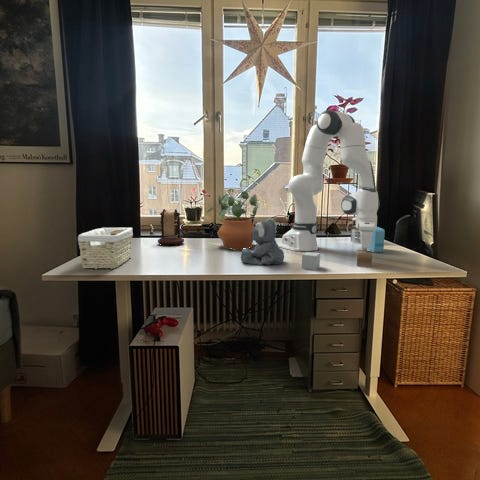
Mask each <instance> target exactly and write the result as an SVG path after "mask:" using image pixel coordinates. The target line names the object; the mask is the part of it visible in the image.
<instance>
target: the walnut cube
mask: <svg viewBox="0 0 480 480" xmlns="http://www.w3.org/2000/svg"><path fill="white" fill-rule="evenodd" d="M372 265H373V252H372V251H371V250H368V249H367V250H362V249H357V251H356V267H362V268H363V267H364V268H365V267H366V268H372Z"/></svg>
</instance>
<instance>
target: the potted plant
mask: <svg viewBox="0 0 480 480" xmlns="http://www.w3.org/2000/svg"><path fill="white" fill-rule="evenodd" d="M240 196H241V198H238V197H237V198H234V197H233V196H232V195H229V193H225V194H224V195H223V196H222V197H221V195H220V194H218V197H217V198H218V199H217V200H218V204H219V206H220V212H219V211H218V210H216V209H215V208H216V205H215V206H213V207H211V208H210V209H208V210H207V211H206V213H209V212H211V211H213V210H215V211H216V212H217V213H219V214H218V217H219V219H223V222H222V225H221V226H220V228H219V229H218V230H217V236H218V238H219V239H220V240H221V242H222V245H223V246H224V247H226V248H225V249H227V248H232V249H231V250H243V248H248V249H250V248H249V247H251V246H252V247H253V242H254V240H253V237H252V236H251V233H252V232H253V231H254V229H255V227H256V226H254V224H253V220H252V218H249V217H241V216H242V215H243V214H246V213H247V210H248V209H250V207H248V206H249V205H250V206H252V207H253V209H252V214H253V216H256V214H257V211H258V208H259V202H258V198H257V195H256V194H255V193H254V194H253V195H252V196H249V193H248V192H247V191H241V192H240ZM242 199H244V201H243V202H242ZM248 199H249V200H248ZM247 200H248V201H249V204H248V205H245V207H244V208H242V207H243V206H244V204H245V202H246V201H247ZM230 207H231V212H229V211H228V209H230ZM246 207H248V208H247V209H246ZM227 212H228V213H230V214H232V216H231V215H229V217H227V216H226V214H228V213H227ZM224 217H225V218H224ZM224 247H223V248H224ZM252 247H251V248H252Z"/></svg>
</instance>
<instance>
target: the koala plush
mask: <svg viewBox="0 0 480 480" xmlns="http://www.w3.org/2000/svg"><path fill="white" fill-rule="evenodd" d="M254 227H255V229H254V231H253V232H252V233H251V236H252V237H253V242H255V243H256V245H255V247H254V250H253V251H251V249H250V248H248V249H247V248H246V249H241V254H240V262H241V263H243V264H246V263H248V265H256V264H257V265H258V266H263V265H265V266H268V265H271V264H272V265H279V264H281V263H283V262H284V260H285V252H284V250H283V248H281V247H278V244H279V243H277V241H276V230H277V223H276V221H275V220H274V219H273V218H272V217H269V218H267V219H265V220H260V221H259V222H257V223H256V224H255V226H254Z"/></svg>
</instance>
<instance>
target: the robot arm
mask: <svg viewBox="0 0 480 480" xmlns="http://www.w3.org/2000/svg"><path fill="white" fill-rule="evenodd" d="M332 138H334V139H339V142H340V144H339V145H340V146H339V147H340V149H339V150H340V152H339V153H340V159H341V163H342V164H343V165H344V166H345V167H347V168H348V169H351V170H353V171H354V172H356V173H357V174H358V175H359V177H360V179H361V180H360V181H361V186H362V187H360V188H359V189H357V190H356V191H355V192H353V193H350V194H347V195H344V196H343V198H342V200H341V202H340V204H341V210H342V212H343V214H345V215H348V216H355V217H356V221H355V225H356V228H358V229H359V230H358V231H359V233H360V234H359V235H360V236H359V237H360V241H361V244H360V246H361V250H367V251H368V248H370V247H371V243H372V237H373V231H375V229H376V228H377V227H378V226H377V225H378V215H377V213H378V211H379V208H380V206H381V205H380V204H381V203H380V199H379V193H378V191H377V190H378V189H377V186H376V180H375V179H376V178H375V174H374V167H373V164H372V162H371V161H370V159H369V157H368V155H367V149H366V135H365V131H364V126H362V124H361V123H357V122H356V121H355V118H353V116H351V115H350V114H347V113H345V112H342V111H336V110H335V111H334V110H333V109H329V110H328V109H327V110H324V111H322V112H320V114H319V115H318V117H317V120H316V124H313V126H311V128H310V130H309V133H308V134H307V138H306V140H305V145H304V148H303V153H302V158H301V163H302V167H303V172H302V174H296V175H295V176H293V177H292V178H290V180H289V182H288V185H287V187H288V191H289V192H290V194H291V195H292V199H293V202H294V211H295V212H294V222H292V223H290V225H291V226H292V227H291V229H290V230H288V231H287V232H285V233H284V234H283V235H282V238H281V242H280V243H277V244H278V247H279V248H280V249H286V250H289V251H292V252H300V251H301V252H311V251H317V250H318V249H319V247H318V240H317V231H318V230H317V229H318V223H317V211H318V210H317V206H316V204H315V200H314V196H316V195H317V194H319V193H321V192H322V191H323V190H324V187H325V182H324V179H323V176H324V175H323V174H324V173H323V171H324V164H325V159H326V156H327V155H326V154H327V151H328V147H329V143H330V141H331V139H332Z"/></svg>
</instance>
